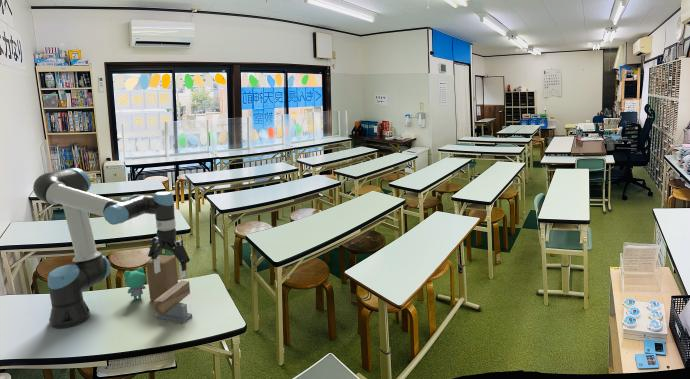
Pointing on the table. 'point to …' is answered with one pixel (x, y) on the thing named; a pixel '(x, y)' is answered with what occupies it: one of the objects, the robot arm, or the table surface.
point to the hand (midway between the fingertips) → (170, 274)
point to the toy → (135, 282)
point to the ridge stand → (177, 314)
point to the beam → (171, 297)
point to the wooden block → (162, 276)
